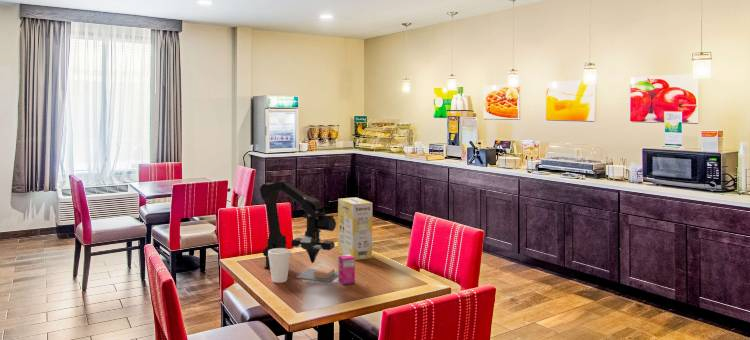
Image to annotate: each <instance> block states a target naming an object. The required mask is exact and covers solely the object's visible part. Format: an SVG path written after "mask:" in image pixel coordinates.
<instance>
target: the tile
mask: <svg viewBox="0 0 750 340" xmlns="http://www.w3.org/2000/svg"><path fill="white" fill-rule="evenodd" d="M334 271H335V268H334V267H328V266H327V267H323V266H320V267H319V268H317V270H316V271H314V277H317V278H325V279H328V278H329V277H330V276H332V275H333V274H334Z"/></svg>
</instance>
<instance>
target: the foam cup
mask: <svg viewBox="0 0 750 340" xmlns="http://www.w3.org/2000/svg"><path fill="white" fill-rule="evenodd" d="M291 253H292V252H291V249H289V248H276V249H271V250H269V251H268V257H269V263H270V269H269V270H270V277H271V282H273V283H277V284H278V283H284V282H285V283H286V282H287V281H288V275H289V268H290V260H291Z"/></svg>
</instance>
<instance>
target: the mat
mask: <svg viewBox="0 0 750 340" xmlns="http://www.w3.org/2000/svg"><path fill="white" fill-rule="evenodd" d="M317 269H318V268H317ZM317 269H316V268H315V269H314V268H309V269H307V270H305V271H303V272H301V273H300V274H299V275H297V276H296V277H295V279H299V280H308V281H315V282H316V281H317V282H325V283H331V282H332V281H333V280H335V279H336V278H338V271H335V270H334V274H333V275H332V276H330V277H329V278H328V279H325V278H317V277H314V271H316V270H317Z"/></svg>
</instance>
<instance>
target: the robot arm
mask: <svg viewBox="0 0 750 340" xmlns="http://www.w3.org/2000/svg"><path fill="white" fill-rule="evenodd" d="M259 192H260V196H261V199H262V200H263V201H264V203H265V208H266V216H267V223H268V232H269V234H268V237H267V240H266V241H267V242H266V243H267V244H266V245H267V246H266V247H265V248H264V249H263V250H262V254H263V256H264V257H265V266H264V267H263V268H264V269H266V270H267V269H269V270H270V263H269V257H268V251H269V250H271V249H276V248H285V249H287V248H286V247H287V244H288V243H287V235H285V234H284V235H283V234H282V232H281V226H280V219H279V211H278V204H277V203H278V198H279V195H280V192H283V193H285V195H288V196H289V197H290V198H291V199H293V200H294V201H295V202H297V203H298V204H299V205H300V207H301V209H302V210H303V211H304V212H305V214H303V215H302V218H304V219H306V230H305V231H304V236H303V237H296V238H293V239H292V240H291V242H290V243H291V244H290V245H291V247H295V248H298V247H299V246H300V247H301V249H303V250H305V251H306V252H307V255H308V257H309V259H310V262H311V264H314V263H315V261H316V258H317V256H318V254H319V251H320V250H323V251H324V250H325V251H331V250H332V249H334V248H335V242H334V240H325V241H323V242H322V241H321V238H320V233H321V231H322V230H323V231H327V232H328V231H329V232H333V231H335V229H336V225H337V222H336V219H335V218H334V215H332V214H327V211H325V208H324V207H323V205H322V201H321V200H319V199H318V198H315V197H313V196H308V195H307V194H305V193H304V192H303V191H301V190H300V189H298V188H296V187H295V186H294V185H293V184H291V183H290V182H289V181H288V180H279V181H278V182H268V183H263V184H261V185H260V187H259Z"/></svg>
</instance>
